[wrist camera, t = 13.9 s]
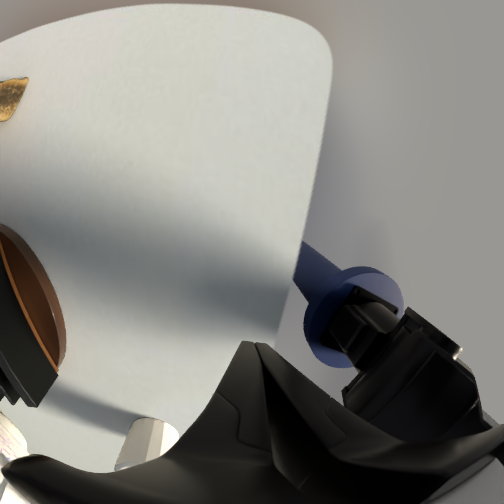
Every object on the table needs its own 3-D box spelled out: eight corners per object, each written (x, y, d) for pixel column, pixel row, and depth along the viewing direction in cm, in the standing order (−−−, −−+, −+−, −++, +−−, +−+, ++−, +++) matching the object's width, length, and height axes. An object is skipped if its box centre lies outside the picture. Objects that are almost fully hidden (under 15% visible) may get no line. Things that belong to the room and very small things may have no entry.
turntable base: (80, 274, 19) (72, 280, 18) (61, 398, 22) (57, 406, 21) (-29, 196, 16) (-38, 198, 14) (-33, 323, 19) (-39, 328, 17)
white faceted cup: (141, 447, 25) (132, 489, 18) (117, 413, 23) (101, 459, 17) (192, 447, 25) (189, 493, 19) (172, 413, 24) (164, 465, 17)
